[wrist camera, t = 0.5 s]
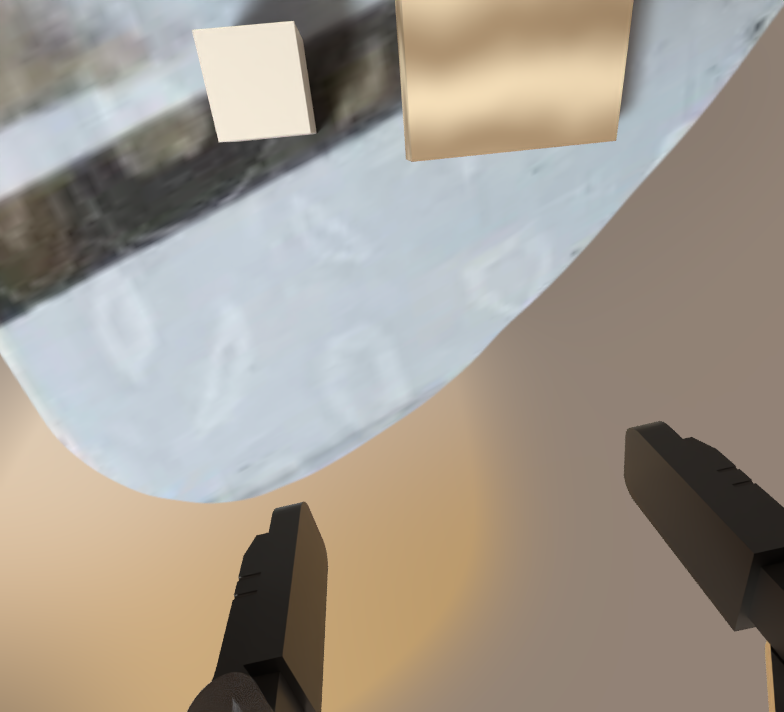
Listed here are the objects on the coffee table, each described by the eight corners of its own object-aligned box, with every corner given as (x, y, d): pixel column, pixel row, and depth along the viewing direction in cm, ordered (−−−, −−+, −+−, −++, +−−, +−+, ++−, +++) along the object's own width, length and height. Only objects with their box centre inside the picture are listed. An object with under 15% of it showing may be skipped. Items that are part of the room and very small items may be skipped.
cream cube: (218, 48, 29) (191, 29, 24) (302, 40, 29) (293, 20, 24) (239, 141, 31) (218, 142, 26) (316, 133, 32) (310, 133, 27)
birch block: (387, -92, 27) (393, -127, 23) (612, -111, 27) (652, -148, 24) (405, 158, 33) (412, 161, 30) (587, 140, 34) (616, 140, 30)
